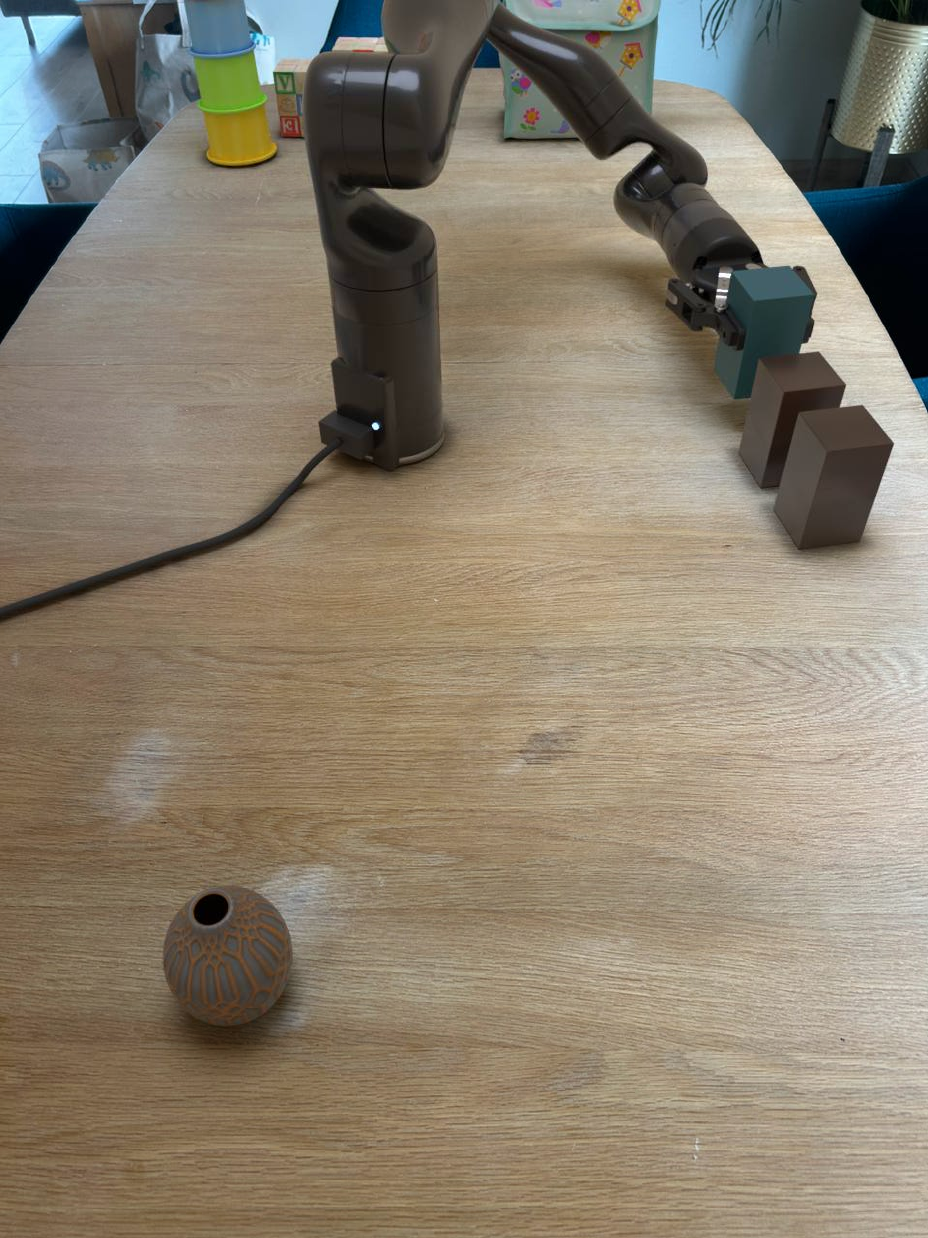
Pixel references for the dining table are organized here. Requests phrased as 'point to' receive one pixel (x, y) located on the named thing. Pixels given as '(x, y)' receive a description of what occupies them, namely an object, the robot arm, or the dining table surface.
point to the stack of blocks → (293, 75)
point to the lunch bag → (601, 19)
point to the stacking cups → (228, 82)
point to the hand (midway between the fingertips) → (774, 337)
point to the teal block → (762, 323)
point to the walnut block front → (832, 476)
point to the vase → (227, 955)
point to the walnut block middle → (784, 409)
